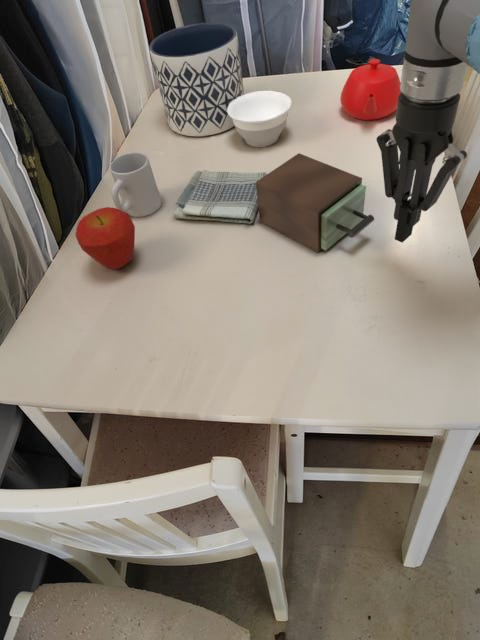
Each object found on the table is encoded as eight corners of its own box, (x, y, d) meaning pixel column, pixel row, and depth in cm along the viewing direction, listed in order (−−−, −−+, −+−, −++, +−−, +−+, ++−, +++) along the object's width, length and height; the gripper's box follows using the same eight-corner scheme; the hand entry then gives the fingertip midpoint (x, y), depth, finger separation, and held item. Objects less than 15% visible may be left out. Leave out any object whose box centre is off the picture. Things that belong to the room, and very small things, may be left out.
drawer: (380, 228, 85) (385, 194, 80) (343, 260, 81) (346, 226, 75) (306, 194, 95) (306, 162, 89) (270, 221, 91) (267, 189, 85)
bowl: (220, 149, 114) (215, 117, 107) (248, 120, 122) (245, 87, 116) (277, 158, 108) (274, 124, 101) (302, 126, 116) (301, 93, 110)
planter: (255, 126, 119) (246, 43, 104) (174, 146, 118) (153, 64, 103) (236, 93, 134) (226, 16, 118) (164, 110, 133) (144, 34, 117)
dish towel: (270, 177, 103) (269, 165, 100) (253, 226, 92) (252, 214, 90) (196, 175, 107) (193, 163, 105) (171, 222, 97) (167, 209, 94)
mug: (139, 192, 106) (124, 150, 98) (168, 198, 103) (155, 154, 94) (109, 223, 99) (91, 180, 91) (140, 229, 96) (124, 186, 88)
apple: (132, 285, 85) (110, 236, 76) (84, 279, 88) (57, 231, 79) (153, 247, 92) (136, 198, 83) (108, 243, 95) (86, 195, 86)
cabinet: (358, 219, 89) (362, 178, 82) (317, 253, 85) (318, 211, 77) (299, 193, 98) (298, 152, 90) (259, 221, 93) (255, 182, 86)
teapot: (343, 91, 126) (345, 44, 117) (400, 89, 122) (407, 40, 113) (335, 136, 111) (337, 86, 102) (400, 136, 107) (408, 83, 98)
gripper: (369, 92, 59) (357, 233, 77) (462, 115, 52) (425, 264, 70) (401, 72, 62) (383, 212, 80) (494, 91, 55) (451, 240, 72)
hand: (403, 236), depth 75 cm, fingers closed
